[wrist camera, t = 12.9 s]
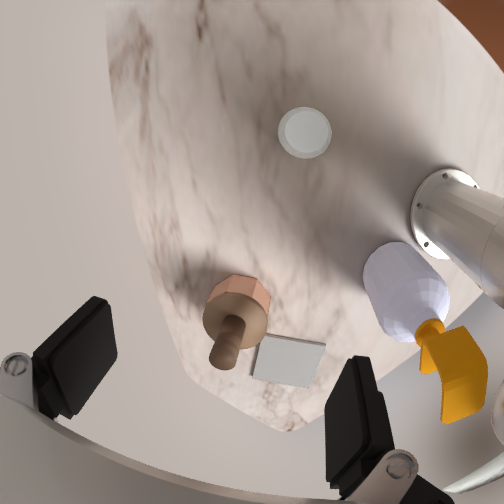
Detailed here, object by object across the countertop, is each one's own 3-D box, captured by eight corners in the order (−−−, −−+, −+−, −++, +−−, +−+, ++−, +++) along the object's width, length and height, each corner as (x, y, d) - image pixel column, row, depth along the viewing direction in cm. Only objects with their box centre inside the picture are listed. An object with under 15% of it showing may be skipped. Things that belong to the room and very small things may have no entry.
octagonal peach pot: (274, 282, 40) (271, 300, 36) (264, 328, 44) (260, 349, 39) (217, 270, 41) (207, 287, 36) (212, 316, 44) (203, 336, 39)
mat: (325, 344, 43) (325, 346, 43) (308, 385, 47) (308, 388, 46) (262, 332, 44) (262, 335, 43) (252, 376, 48) (252, 378, 47)
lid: (273, 299, 36) (267, 340, 28) (261, 350, 39) (254, 392, 32) (207, 286, 36) (186, 321, 29) (202, 337, 40) (185, 376, 32)
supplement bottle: (271, 138, 34) (263, 137, 25) (297, 104, 32) (298, 91, 23) (307, 164, 34) (312, 172, 25) (333, 131, 32) (347, 127, 23)
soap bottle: (366, 305, 40) (409, 452, 17) (357, 248, 37) (420, 389, 14) (421, 291, 38) (496, 417, 15) (417, 233, 35) (525, 344, 12)
